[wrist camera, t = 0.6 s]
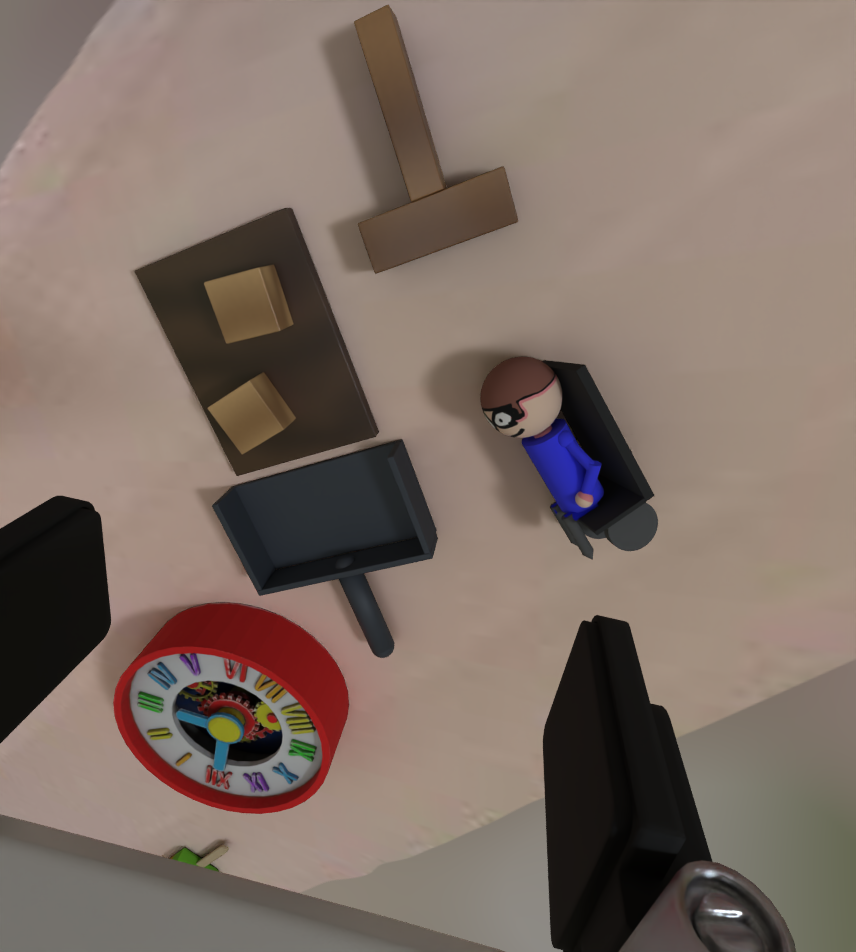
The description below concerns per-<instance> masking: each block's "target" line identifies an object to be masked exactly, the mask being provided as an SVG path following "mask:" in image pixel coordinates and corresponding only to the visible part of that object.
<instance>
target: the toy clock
mask: <svg viewBox="0 0 856 952" xmlns="http://www.w3.org/2000/svg"><path fill="white" fill-rule="evenodd" d="M113 704H114V714H115V719H116V722H117V725H118V729H119V731H120V733H121V735H122V737H123V739H124V741H125V743H126V745H127V746H128V747H129V749H130V750H131V751H132V753H133V754H134V756H135V757H136V758H137V759H138V760H139V761H140V762H141V763H142V765H143V766H144V767H145V768H146V769H147V770H148V771H150V772H151V773H152V774H153V775H154V776H156V777H157V778H158V779H159V780H161V781H162V782H163V783H165V784H166V785H168V786H169V787H171V788H172V789H174V790H176V791H177V792H179V793H181V794H183V795H185V796H187V797H189V798H191V799H193V800H195V801H198V802H201V803H203V804H206V805H208V806H211V807H215V808H219V809H223V810H227V811H233V812H240V813H255V814H263V813H272V812H279V811H282V810H286V809H290V808H293V807H295V806H297V805H299V804H301V803H303V802H305V801H306V800H307V799H309V798H310V797H311V796H312V795H314V794H315V793H316V792H317V790H318V789H319V788H320V787H321V785H322V784H323V782H324V780H325V778H326V775H327V773H328V771H329V768H330V765H331V762H332V759H333V756H334V754H335V751H336V748H337V745H338V742H339V739H340V737H341V734H342V731H343V728H344V725H345V722H346V720H347V715H348V708H349V699H348V690H347V687H346V684H345V680H344V677H343V675H342V673H341V671H340V669H339V667H338V666H337V664H336V662H335V661H334V659H333V658H332V657H331V655H330V654H329V653H328V651H327V650H326V649H325V648H324V647H323V646H322V645H321V644H320V643H319V642H318V641H317V640H316V639H315V638H314V637H313V636H312V635H310V634H309V633H308V632H306V631H305V630H303V629H302V628H301V627H299V626H298V625H296V624H295V623H293V622H291V621H289V620H287V619H286V618H284V617H282V616H280V615H277V614H275V613H272V612H270V611H267V610H265V609H262V608H258V607H254V606H249V605H245V604H238V603H227V602H223V603H207V604H203V605H199V606H195V607H191V608H189V609H187V610H185V611H183V612H181V613H178V614H177V615H176V616H174V617H173V618H172V619H171V620H169V621H168V622H167V623H166V624H165V625H164V626H163V628H162V629H161V630H160V631H159V632H158V633H157V635H156V636H155V637H154V638H153V639H152V640H151V641H150V643H149V644H148V645H147V646H146V647H145V648H144V650H143V651H142V652H141V653H140V654H139V655H138V657H137V658H136V659H135V660H134V661H133V662H132V664H131V665H130V666H129V667H128V668H127V670H126V671H125V672H124V673H123V674H122V676H121V677H120V679H119V682H118V684H117V686H116V689H115V695H114V701H113Z"/></svg>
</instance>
